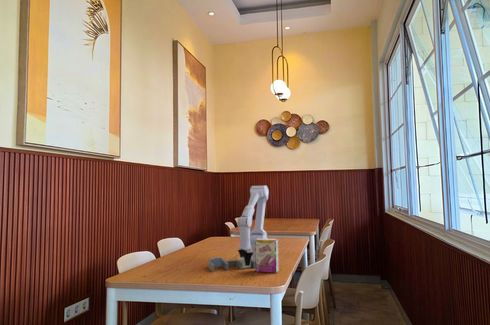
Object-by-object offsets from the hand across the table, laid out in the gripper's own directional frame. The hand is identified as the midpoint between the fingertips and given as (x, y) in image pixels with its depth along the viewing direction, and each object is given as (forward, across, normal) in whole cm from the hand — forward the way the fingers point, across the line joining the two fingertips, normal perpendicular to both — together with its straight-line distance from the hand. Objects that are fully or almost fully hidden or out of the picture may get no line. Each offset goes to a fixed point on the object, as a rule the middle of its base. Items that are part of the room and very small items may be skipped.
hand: (245, 264), depth 193 cm
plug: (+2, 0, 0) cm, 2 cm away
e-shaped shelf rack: (+1, -1, -7) cm, 8 cm away
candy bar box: (+2, +15, +7) cm, 17 cm away
